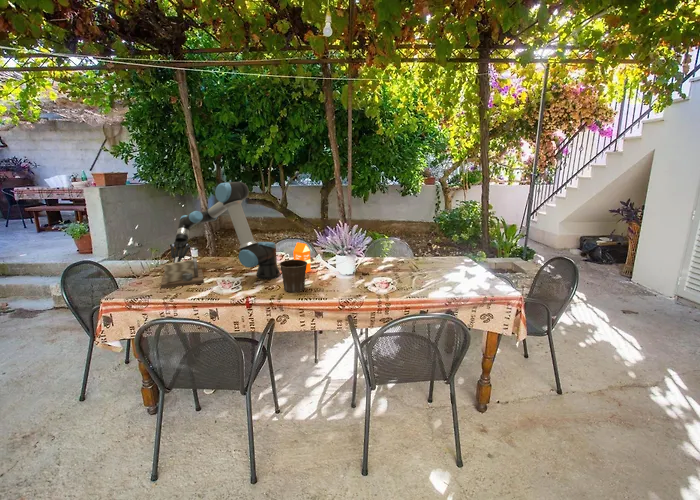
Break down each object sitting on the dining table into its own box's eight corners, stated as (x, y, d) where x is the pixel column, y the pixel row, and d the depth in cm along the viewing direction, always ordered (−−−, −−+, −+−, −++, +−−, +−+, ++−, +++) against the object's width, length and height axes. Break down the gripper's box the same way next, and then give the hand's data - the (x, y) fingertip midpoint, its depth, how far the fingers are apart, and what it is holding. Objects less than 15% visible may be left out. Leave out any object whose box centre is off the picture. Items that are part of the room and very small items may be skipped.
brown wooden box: (203, 283, 230) (201, 261, 227) (161, 288, 221) (158, 266, 218) (202, 271, 255) (200, 251, 252) (163, 275, 246) (161, 255, 243)
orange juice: (303, 273, 250) (302, 244, 245) (293, 271, 255) (292, 243, 250) (311, 270, 256) (310, 242, 251) (301, 268, 261) (300, 241, 256)
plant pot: (310, 292, 214) (309, 265, 210) (282, 295, 209) (281, 268, 206) (305, 283, 229) (304, 258, 225) (279, 286, 224) (278, 260, 221)
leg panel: (193, 276, 237) (191, 259, 234) (194, 276, 235) (193, 260, 233) (165, 282, 225) (163, 264, 222) (167, 282, 223) (164, 265, 221)
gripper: (194, 239, 249) (188, 269, 237) (174, 239, 248) (167, 270, 236) (190, 232, 243) (184, 264, 231) (170, 233, 242) (162, 264, 230)
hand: (175, 267), depth 233 cm, fingers closed
